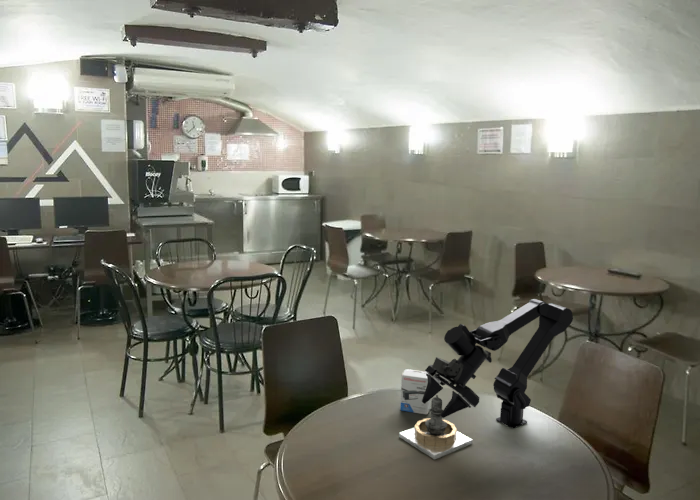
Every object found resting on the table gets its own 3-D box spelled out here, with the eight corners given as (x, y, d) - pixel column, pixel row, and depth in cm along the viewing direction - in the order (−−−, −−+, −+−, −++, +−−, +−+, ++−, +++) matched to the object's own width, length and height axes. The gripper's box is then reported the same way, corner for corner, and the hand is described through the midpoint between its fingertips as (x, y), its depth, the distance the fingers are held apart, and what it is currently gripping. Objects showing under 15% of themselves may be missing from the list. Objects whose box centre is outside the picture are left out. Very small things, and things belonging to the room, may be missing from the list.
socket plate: (435, 423, 160) (436, 411, 160) (472, 443, 149) (472, 431, 148) (398, 436, 152) (399, 424, 152) (434, 459, 141) (434, 446, 140)
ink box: (399, 411, 168) (400, 374, 166) (403, 404, 172) (404, 368, 170) (427, 415, 165) (428, 378, 163) (430, 408, 170) (431, 371, 168)
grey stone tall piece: (438, 443, 146) (440, 401, 144) (420, 436, 150) (421, 394, 148) (450, 435, 151) (452, 394, 149) (432, 428, 155) (433, 388, 153)
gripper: (431, 337, 156) (397, 380, 154) (472, 359, 139) (433, 407, 137) (453, 359, 161) (420, 401, 158) (495, 383, 144) (458, 431, 141)
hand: (432, 409), depth 148 cm, fingers open, 9 cm apart
